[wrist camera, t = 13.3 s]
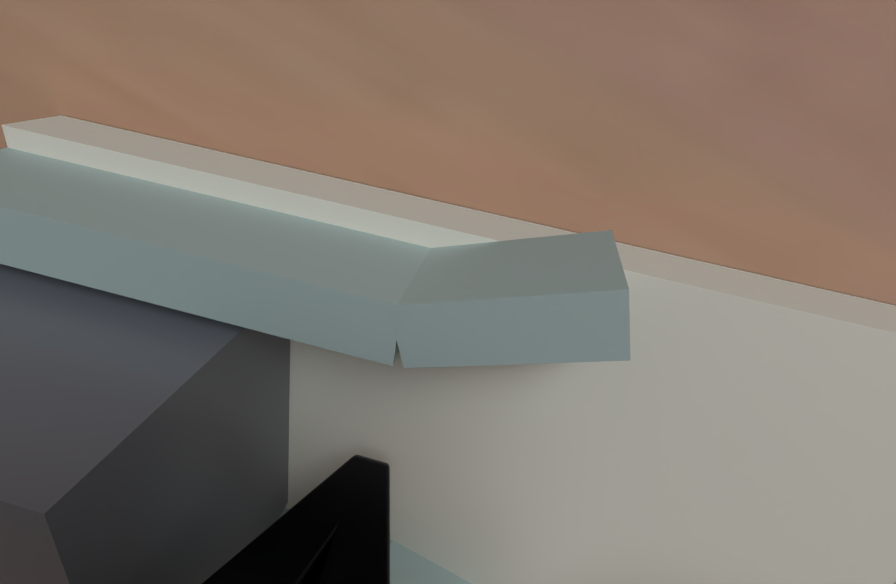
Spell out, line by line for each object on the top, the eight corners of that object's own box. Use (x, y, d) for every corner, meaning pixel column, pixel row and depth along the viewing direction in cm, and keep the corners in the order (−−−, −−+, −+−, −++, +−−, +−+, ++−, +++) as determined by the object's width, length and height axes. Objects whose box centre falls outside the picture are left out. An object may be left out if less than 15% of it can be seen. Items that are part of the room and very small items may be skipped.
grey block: (291, 283, 9) (44, 514, 5) (287, 502, 12) (136, 766, 8) (20, 215, 10) (-432, 365, 5) (82, 441, 13) (-169, 657, 8)
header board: (1064, 308, 8) (1511, 547, 4) (750, 649, 13) (826, 887, 9) (54, 84, 9) (-264, 113, 6) (135, 467, 15) (-5, 610, 11)
